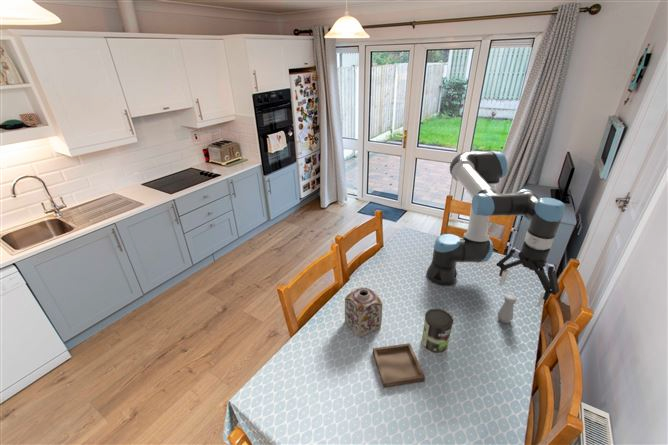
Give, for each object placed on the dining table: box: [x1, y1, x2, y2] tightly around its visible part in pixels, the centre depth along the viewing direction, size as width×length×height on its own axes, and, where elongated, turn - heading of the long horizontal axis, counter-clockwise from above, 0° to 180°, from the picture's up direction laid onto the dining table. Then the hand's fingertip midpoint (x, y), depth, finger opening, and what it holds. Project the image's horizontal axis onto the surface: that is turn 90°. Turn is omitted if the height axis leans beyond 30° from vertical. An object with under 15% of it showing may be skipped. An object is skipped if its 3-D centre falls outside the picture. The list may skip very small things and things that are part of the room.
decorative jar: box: [344, 286, 383, 338], centre depth 130 cm, size 12×12×18 cm
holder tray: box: [372, 342, 426, 389], centre depth 115 cm, size 15×15×2 cm
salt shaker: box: [497, 293, 517, 324], centre depth 132 cm, size 6×6×13 cm
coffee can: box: [421, 308, 454, 355], centre depth 121 cm, size 10×10×14 cm
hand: (519, 294), depth 112 cm, fingers open, 13 cm apart
